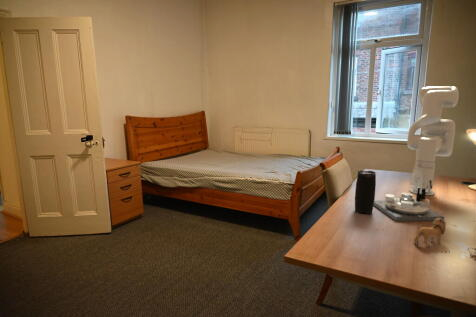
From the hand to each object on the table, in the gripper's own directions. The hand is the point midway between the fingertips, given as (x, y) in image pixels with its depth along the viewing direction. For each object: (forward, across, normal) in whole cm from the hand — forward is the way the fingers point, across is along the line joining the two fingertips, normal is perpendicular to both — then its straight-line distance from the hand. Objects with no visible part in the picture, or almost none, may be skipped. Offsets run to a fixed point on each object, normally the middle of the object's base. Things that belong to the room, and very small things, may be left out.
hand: (420, 201), depth 146 cm
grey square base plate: (+5, +1, -7) cm, 9 cm away
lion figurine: (+5, +32, -17) cm, 37 cm away
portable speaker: (+5, 0, -27) cm, 28 cm away
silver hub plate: (+3, +1, -7) cm, 8 cm away
